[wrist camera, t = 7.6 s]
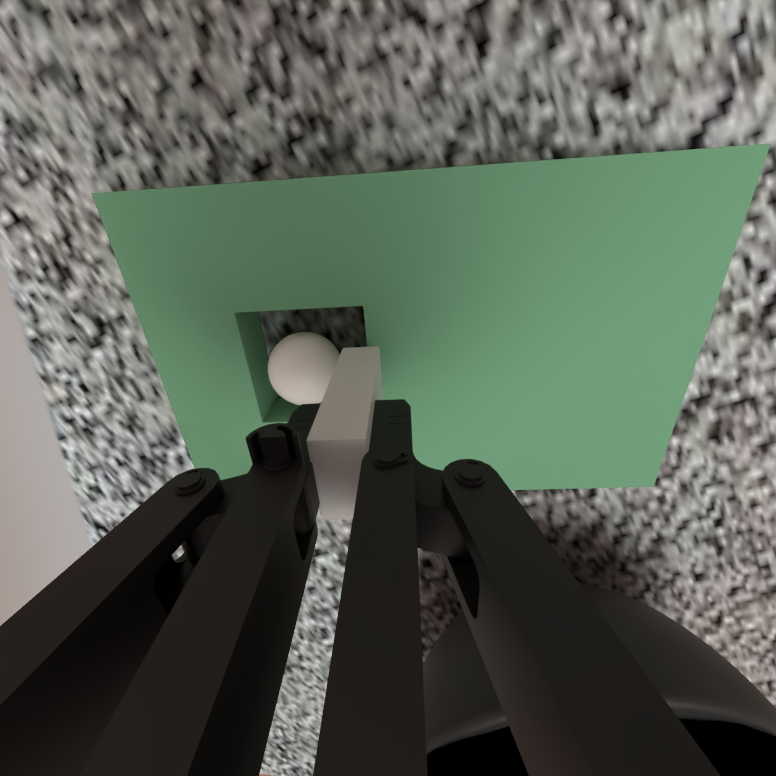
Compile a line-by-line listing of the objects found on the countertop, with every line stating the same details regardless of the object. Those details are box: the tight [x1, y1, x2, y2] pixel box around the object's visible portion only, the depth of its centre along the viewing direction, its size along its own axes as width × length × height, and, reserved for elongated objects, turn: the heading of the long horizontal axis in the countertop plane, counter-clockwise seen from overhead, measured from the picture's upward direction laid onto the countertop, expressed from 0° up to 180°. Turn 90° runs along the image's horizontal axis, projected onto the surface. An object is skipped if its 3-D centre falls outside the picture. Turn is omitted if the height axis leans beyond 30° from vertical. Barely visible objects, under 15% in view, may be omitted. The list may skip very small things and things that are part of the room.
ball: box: [268, 332, 340, 405], centre depth 18 cm, size 4×4×4 cm
